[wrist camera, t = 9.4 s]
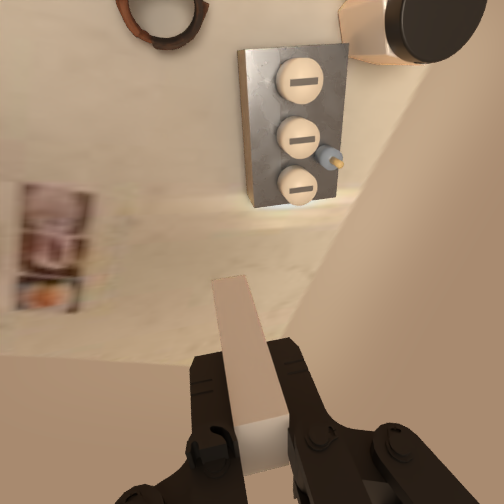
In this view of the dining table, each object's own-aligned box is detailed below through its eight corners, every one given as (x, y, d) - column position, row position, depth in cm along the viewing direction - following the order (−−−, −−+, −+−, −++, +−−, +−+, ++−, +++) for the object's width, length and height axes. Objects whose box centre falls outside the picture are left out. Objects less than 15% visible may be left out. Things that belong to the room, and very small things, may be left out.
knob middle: (266, 144, 41) (284, 161, 34) (265, 111, 39) (284, 122, 32) (296, 141, 42) (319, 157, 35) (296, 108, 40) (321, 118, 33)
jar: (363, 81, 40) (426, 88, 30) (322, 28, 36) (378, 15, 26) (419, 16, 37) (509, -1, 27) (382, -49, 34) (470, -95, 24)
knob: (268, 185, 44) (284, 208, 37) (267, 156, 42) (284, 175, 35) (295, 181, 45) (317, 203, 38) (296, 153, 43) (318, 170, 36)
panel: (247, 194, 44) (254, 208, 40) (237, 50, 36) (245, 49, 31) (321, 184, 46) (335, 197, 42) (329, 44, 37) (349, 42, 33)
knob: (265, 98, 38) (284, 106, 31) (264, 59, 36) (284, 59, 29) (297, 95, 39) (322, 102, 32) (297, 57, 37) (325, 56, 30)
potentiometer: (314, 165, 39) (329, 176, 35) (315, 145, 38) (330, 154, 34) (332, 163, 39) (349, 174, 36) (334, 143, 38) (351, 152, 34)
